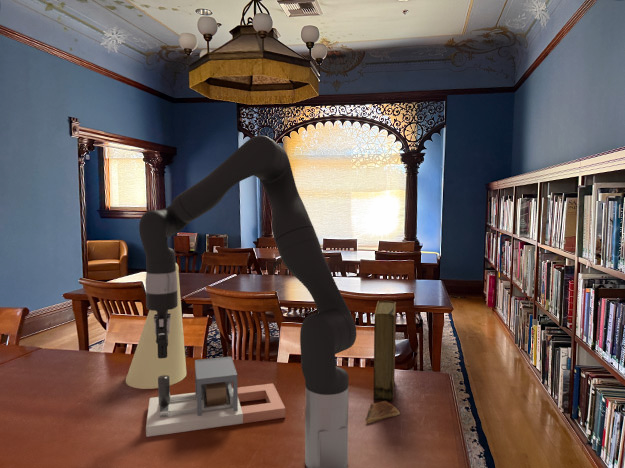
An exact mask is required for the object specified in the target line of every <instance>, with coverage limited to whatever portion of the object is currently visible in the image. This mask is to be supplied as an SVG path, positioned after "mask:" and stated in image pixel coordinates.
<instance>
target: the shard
mask: <svg viewBox="0 0 625 468" xmlns="http://www.w3.org/2000/svg"><path fill="white" fill-rule="evenodd" d="M400 413H401V412H400V411H399V410H398V409H397V407H396V406H394V405H392V404H391V403H389V401H387V400H383V401H380V402H379V401H378V402H374V403H371V402H370V405H369V408H368V411H367V413H366V414H367V415H366V418H365V422H366V425H367V424H370V423H374V422H377V421H380V420H383V419H387V418H390V417H396V416H399V415H400Z"/></svg>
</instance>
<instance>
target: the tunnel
mask: <svg viewBox="0 0 625 468" xmlns="http://www.w3.org/2000/svg"><path fill="white" fill-rule="evenodd" d="M232 357H233V356H224V357H223V356H221V357H215V358H214V357H211V358H204V359H203V358H202V359H201V358H200V359H194V379H195V380H194V381H195V383H194V384H195V393H196V394H197V415H198V416H202V407H201V386H202V388H203V393H206V384H211V383H219V382H225V384H226V391H227V383H229V382H230V383H231V386H232V388H233V410H234V411H238V372H237V370H236V366H235V364H234V361H233V358H232Z"/></svg>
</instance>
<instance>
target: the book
mask: <svg viewBox="0 0 625 468" xmlns="http://www.w3.org/2000/svg"><path fill="white" fill-rule="evenodd" d="M396 306H397V302H396V301H394V300H393V301H392V300H378V301H377V303H376V307H375V310H374V320H373V321H374V323H373V325H374V328H373V331H374V332H373V334H374V335H373V339H374V340H373V393H372V394H373V396H372V397H373V400H386V401H387V400H388V401H391V402H394V393H395V373H396V371H395V370H396V369H395V367H396V362H395V361H396V318H397V316H396V315H397V314H396V313H397V311H396V309H397V307H396Z"/></svg>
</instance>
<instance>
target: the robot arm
mask: <svg viewBox="0 0 625 468" xmlns="http://www.w3.org/2000/svg"><path fill="white" fill-rule="evenodd" d="M253 176H254V177H256V178H258V180H259V181H260V182H261V184H262V187H263V189H264V191H265V193H266V195H267V197H268V201H269V203H270V210H271V230H272V236H273V240H274V243H275V246H276V248H277V250H278V254H279V256H280V259H281V261H282V263H283V264H284V266H285V267H286V269H288V271H289V272H290V273H291V274H292V275H293V276H294V277H295V278H296V279H297V280H298V281H299V282H300V283H301V284H302V285H303V286H304V287H305V288H306V290H307V292H309V294H310V295H311V298H312V299H313V301H314V304H315V307H316V310H317V312H315V313H313V314H310V315H309V314H308V316H306V317H305V318H304V319H303V321H302V322H301V325H300V326H301V327H300V332H299V343H300V345H299V346H300V347H299V349H300V363H301V365H300V366H301V371H302V376H303V377H304V385H305V386H304V387H305V388H304V389H305V390H304V391H305V393H304V397H305V399H304V447H305V449H304V454H305V455H304V458H305V459H304V461H305V462H304V463H305V466H306V468H348V465H349V391H350V389H349V381H350V379H349V378H350V377H349V374H348V371H346V370H345V369H344V368H342V367H341V366H336V365H337V364H336V354H339V353H341V352H344V351H346V350H348V349H350V348H351V347H353V346H354V345H355V343H356V340H357V328H356V327H357V326H356V323H355V319H354V318H353V316H352V313H351V311H350V308H349V307H348V305H347V303H346V300H345V299H344V297H343V295H342V293H341V291H340V289H339V287H338V286H337V285H338V284H337V283H336V281H335V278H334V276H333V274H332V272H331V269H330V266H329V265H328V262H327V260H326V256H325V255H324V252H323V249H322V247H321V243H320V240H319V238H318V235H317V233H316V230H315V228H314V225H313V223H312V221H311V219H310V216H309V213H308V211H307V209H306V206H305V204H304V202H303V200H302V198H301V195H300V193H299V191H298V188H297V185H296V180H295V177H294V174H293V170H292V165H291V162H290V159H289V156H288V154H287V151H286V150H285V149H284V148H283V147H282V145H280V144H278V143H277V142H276V141H275V140H274V139H272V138H270V137H269V136H266V135H256V136H253V137H251V138H249V139H248V140H247V141H245V142H244V143H243V144H241V146H239V148H237V149H236V150H235V151H234V152H233V153H232V154H231V155H230V156H229V157H227V159H225V160H224V161H223V162H222V163H221V164H219V166H217V167H216V168H215V169H214V170H213V171H211V172H210V173H209V174H207V176H205V177H204V178H202V179H201V180H200V181H198V182H197V183H195V184H193V185H191V187H189V188H187V189H186V190H183V191H182V192H181V193H179V194H178V195H177V196H176V197H174V198H173V200H172V202H171V204H170V205H169V206H167V207H165V208H162V209H155V210H149V211H146V212H145V213H143V215H142V216H141V217H140V221H139V224H138V229H139V236H140V241H141V244H142V247H143V250H144V254H145V266H146V268H145V270H146V272H145V273H146V275H145V307H146V309H147V310H151V311H157V314H154V324H155V335H156V343H157V344H158V358H167V346H168V334H169V327H170V320H171V313H168V310H171V309H174V308H176V307H177V305H178V300H177V276H176V263H177V262H176V253H175V250H174V249H173V248H171V247H169V243H168V240H167V238H169V237H172V236H175V235H177V233H179V232H181V231H182V230H184V228H186V227H187V226H188V225H189V224H190V223H191V222H192V221H194V220H196V219H198V218H200V217H201V216H203V215H204V214H206V213H207V212H209V211H210V210H213V208H215V207H216V206H217V205H218V204H219V203H220V202H221V200H222V199H223V198H224V197H225V195H226V194H227V193H228V192H229V191H230V189H232V188H233V187H234V186H236V185H237V184H239V183H240V182H243V180H247V179H249V178H250V177H253Z"/></svg>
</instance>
